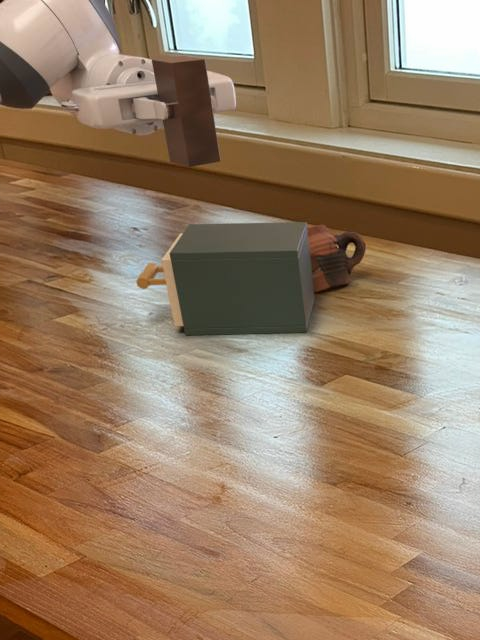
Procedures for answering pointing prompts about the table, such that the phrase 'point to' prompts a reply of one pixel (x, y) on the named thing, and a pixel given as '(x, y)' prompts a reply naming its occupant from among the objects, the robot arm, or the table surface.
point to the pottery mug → (332, 256)
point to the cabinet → (244, 278)
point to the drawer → (163, 282)
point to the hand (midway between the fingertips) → (190, 108)
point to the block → (187, 110)
